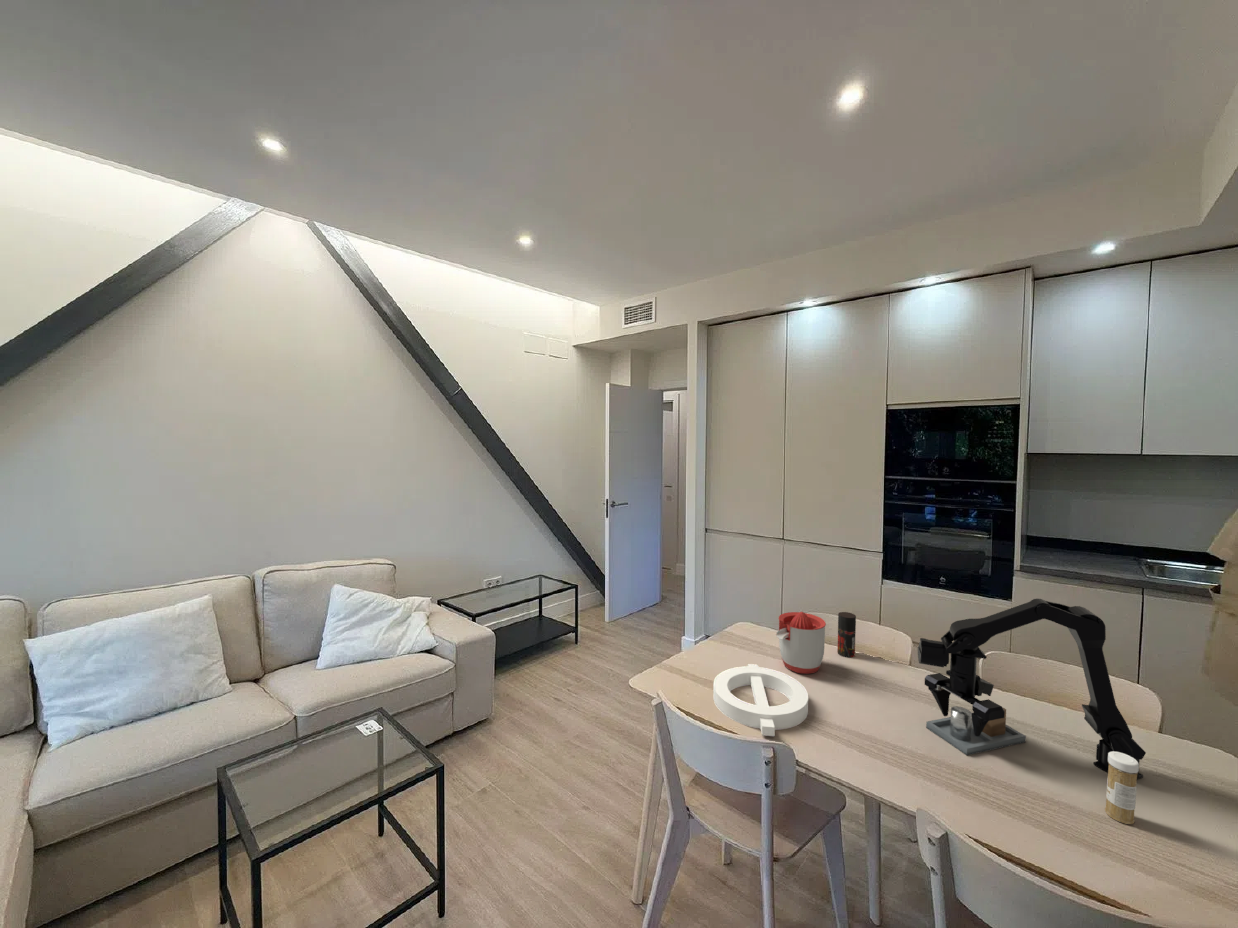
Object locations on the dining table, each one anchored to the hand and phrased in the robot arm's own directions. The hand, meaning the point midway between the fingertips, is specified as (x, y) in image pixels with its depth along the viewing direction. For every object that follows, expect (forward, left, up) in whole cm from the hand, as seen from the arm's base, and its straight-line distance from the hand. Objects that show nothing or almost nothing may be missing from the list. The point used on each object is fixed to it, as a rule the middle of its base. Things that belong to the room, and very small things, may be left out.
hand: (960, 725), depth 130 cm
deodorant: (+50, -5, -4) cm, 50 cm away
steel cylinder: (0, 0, -3) cm, 3 cm away
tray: (0, -5, -4) cm, 6 cm away
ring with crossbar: (+30, +43, -4) cm, 53 cm away
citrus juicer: (+46, +18, -4) cm, 50 cm away
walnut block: (0, -10, -3) cm, 10 cm away
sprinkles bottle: (-30, -8, -4) cm, 31 cm away
